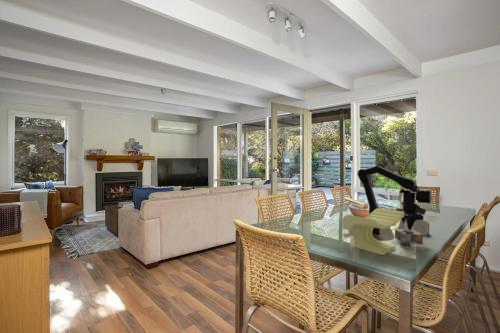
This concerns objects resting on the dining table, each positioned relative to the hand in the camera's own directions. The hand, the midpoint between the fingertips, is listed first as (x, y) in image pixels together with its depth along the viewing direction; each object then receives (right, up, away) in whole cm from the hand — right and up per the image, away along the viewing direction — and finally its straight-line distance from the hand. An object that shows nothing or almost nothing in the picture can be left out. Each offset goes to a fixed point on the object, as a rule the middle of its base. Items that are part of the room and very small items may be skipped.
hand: (408, 229), depth 150 cm
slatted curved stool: (-26, -6, -14) cm, 31 cm away
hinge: (+12, -6, +15) cm, 20 cm away
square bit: (0, -3, 0) cm, 3 cm away
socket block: (0, -6, 0) cm, 6 cm away
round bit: (-8, -6, -10) cm, 14 cm away
